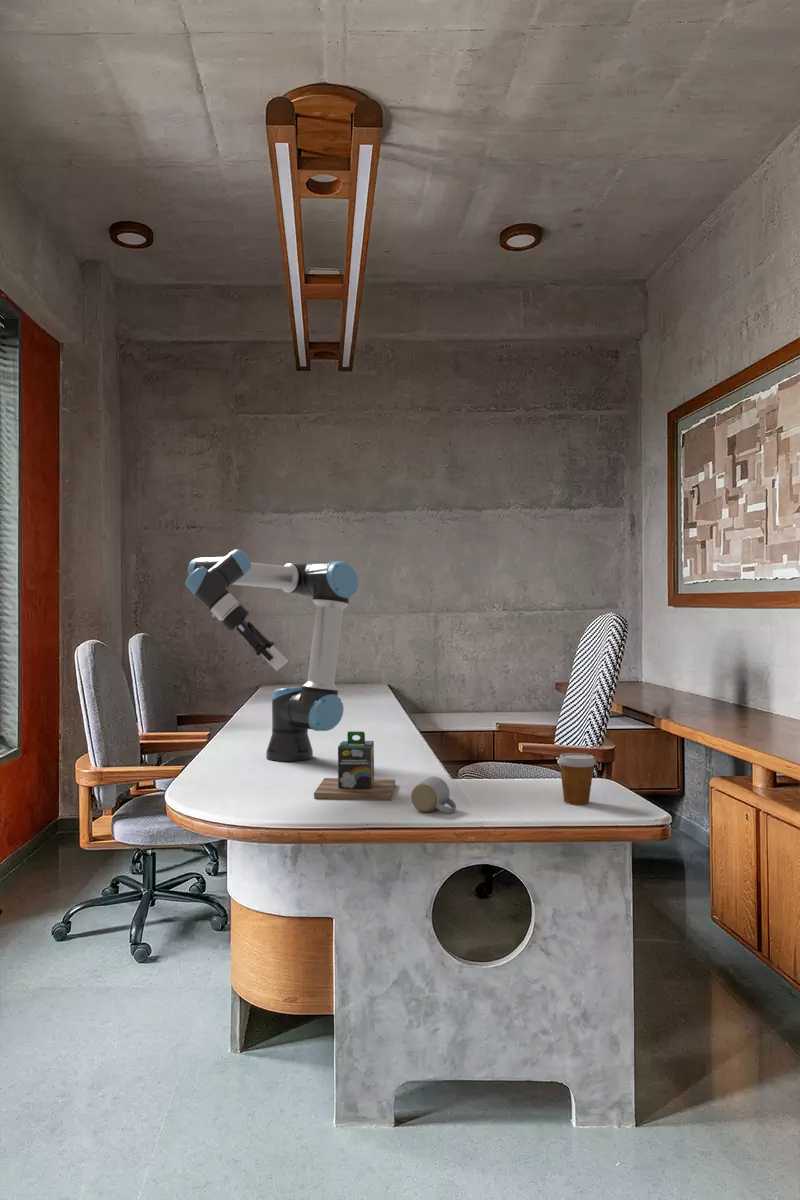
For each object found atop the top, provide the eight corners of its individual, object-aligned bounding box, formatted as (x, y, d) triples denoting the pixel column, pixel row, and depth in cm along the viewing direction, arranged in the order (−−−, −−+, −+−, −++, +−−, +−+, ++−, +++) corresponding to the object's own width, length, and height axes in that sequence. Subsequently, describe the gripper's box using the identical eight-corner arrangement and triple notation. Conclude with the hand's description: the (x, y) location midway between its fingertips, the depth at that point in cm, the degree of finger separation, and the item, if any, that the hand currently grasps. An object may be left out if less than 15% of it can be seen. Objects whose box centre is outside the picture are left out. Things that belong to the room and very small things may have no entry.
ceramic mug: (408, 811, 218) (409, 780, 218) (421, 804, 226) (422, 774, 226) (449, 817, 214) (449, 785, 214) (461, 810, 222) (461, 779, 222)
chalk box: (374, 782, 246) (374, 728, 246) (371, 789, 237) (372, 733, 237) (340, 781, 246) (341, 728, 246) (337, 788, 237) (337, 732, 237)
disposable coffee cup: (598, 806, 226) (599, 759, 226) (560, 806, 226) (561, 758, 226) (591, 798, 236) (591, 753, 236) (555, 798, 236) (555, 752, 236)
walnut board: (324, 783, 252) (324, 777, 252) (395, 784, 251) (395, 779, 251) (313, 798, 232) (314, 792, 232) (390, 800, 231) (390, 794, 231)
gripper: (227, 621, 267) (277, 671, 267) (213, 622, 242) (268, 678, 242) (246, 603, 267) (295, 654, 267) (233, 603, 242) (288, 659, 242)
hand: (282, 666), depth 255 cm, fingers open, 13 cm apart
